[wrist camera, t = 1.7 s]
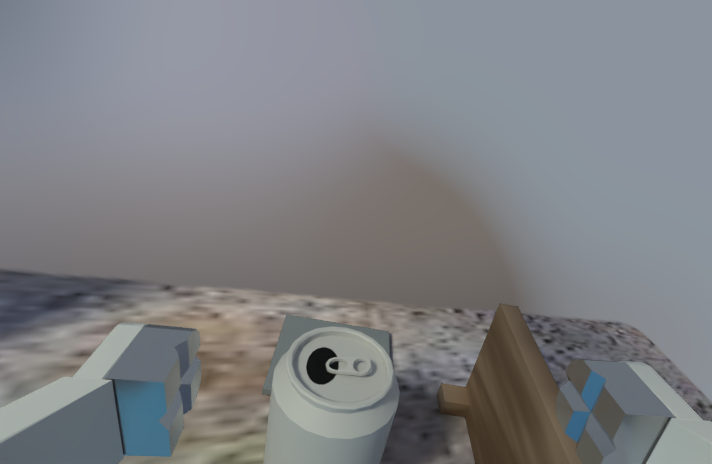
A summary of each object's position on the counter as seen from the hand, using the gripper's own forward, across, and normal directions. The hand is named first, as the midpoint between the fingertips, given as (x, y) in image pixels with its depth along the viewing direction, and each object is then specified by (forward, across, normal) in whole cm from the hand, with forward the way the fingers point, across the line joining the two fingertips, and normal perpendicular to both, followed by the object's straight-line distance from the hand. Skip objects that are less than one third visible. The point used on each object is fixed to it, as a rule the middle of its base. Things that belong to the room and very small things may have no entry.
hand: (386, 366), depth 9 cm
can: (+12, +1, +22) cm, 25 cm away
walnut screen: (+14, -12, +22) cm, 29 cm away
